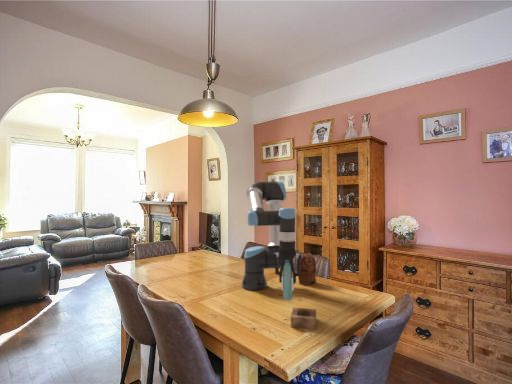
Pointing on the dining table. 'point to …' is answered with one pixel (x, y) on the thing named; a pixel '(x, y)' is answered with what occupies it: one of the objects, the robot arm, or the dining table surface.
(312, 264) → the wooden figurine
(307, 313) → the brown open box
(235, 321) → the dining table surface
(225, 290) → the dining table surface
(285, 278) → the teal long bar
